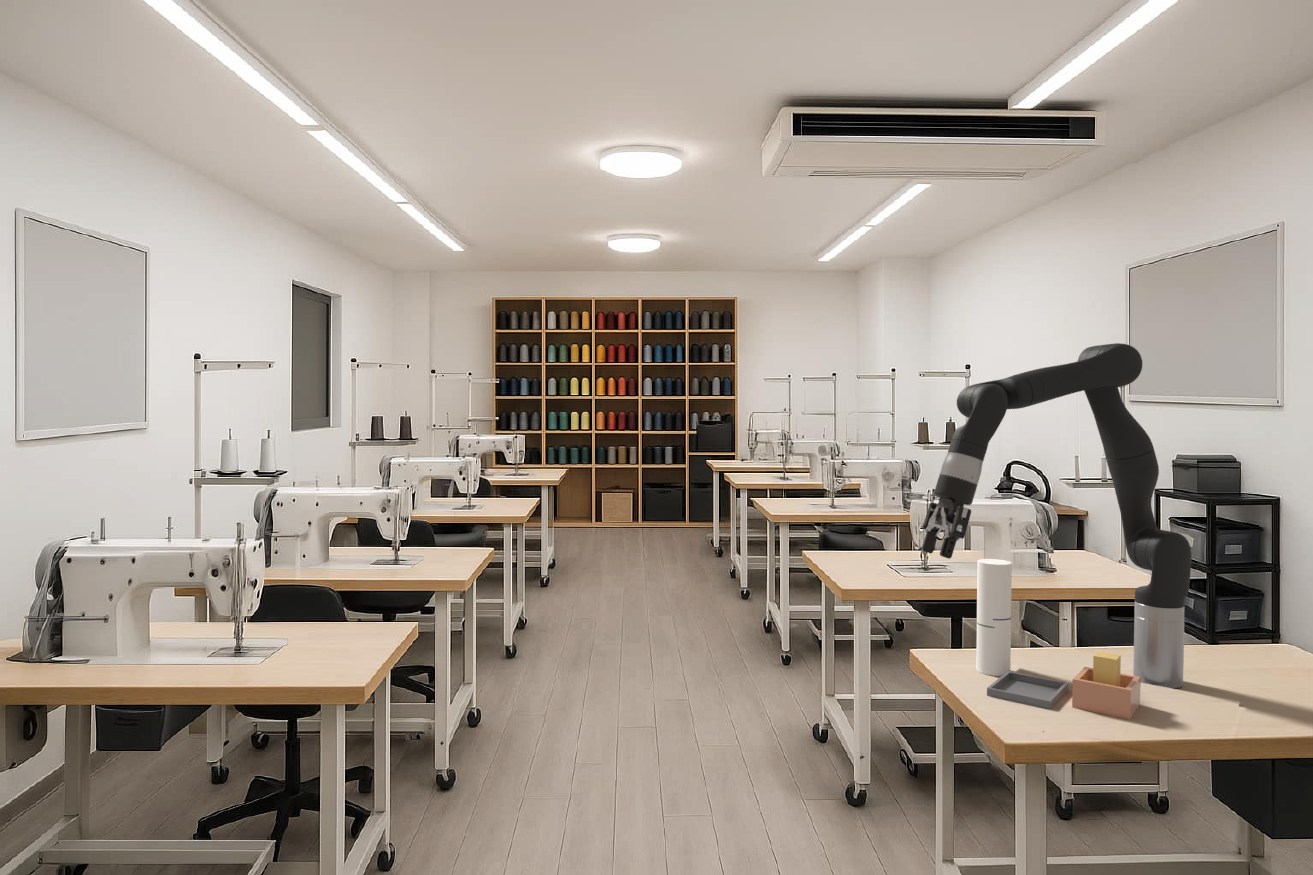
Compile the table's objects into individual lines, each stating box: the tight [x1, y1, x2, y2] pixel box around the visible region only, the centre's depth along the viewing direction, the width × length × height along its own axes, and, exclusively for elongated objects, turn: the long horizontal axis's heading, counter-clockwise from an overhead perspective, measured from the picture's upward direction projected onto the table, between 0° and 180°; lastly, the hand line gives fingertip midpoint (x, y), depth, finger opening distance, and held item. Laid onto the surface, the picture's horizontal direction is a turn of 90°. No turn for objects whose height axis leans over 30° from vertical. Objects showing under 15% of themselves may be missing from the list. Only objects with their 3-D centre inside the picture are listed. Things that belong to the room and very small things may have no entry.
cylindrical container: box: [975, 558, 1013, 677], centre depth 183 cm, size 7×7×25 cm
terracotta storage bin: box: [1071, 666, 1142, 720], centre depth 159 cm, size 10×10×6 cm
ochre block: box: [1092, 651, 1122, 687], centre depth 159 cm, size 4×4×10 cm
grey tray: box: [986, 670, 1069, 710], centre depth 166 cm, size 14×12×2 cm
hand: (935, 554), depth 163 cm, fingers open, 8 cm apart
